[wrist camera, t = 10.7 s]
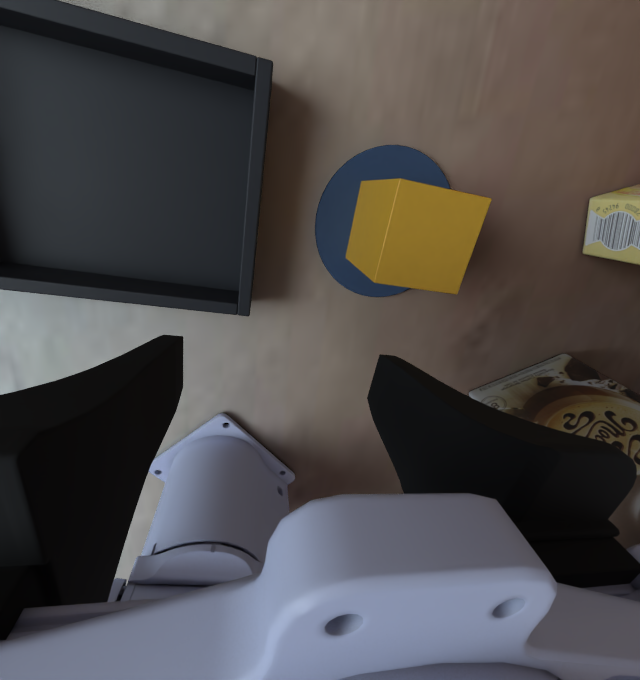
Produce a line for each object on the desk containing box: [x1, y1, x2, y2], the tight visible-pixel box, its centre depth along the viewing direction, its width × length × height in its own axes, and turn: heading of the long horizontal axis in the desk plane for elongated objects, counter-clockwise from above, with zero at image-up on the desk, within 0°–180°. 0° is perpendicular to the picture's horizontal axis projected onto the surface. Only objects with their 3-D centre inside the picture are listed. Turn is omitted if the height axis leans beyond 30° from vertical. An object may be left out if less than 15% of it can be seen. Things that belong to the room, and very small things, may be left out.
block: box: [346, 178, 492, 294], centre depth 17 cm, size 4×4×6 cm
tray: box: [0, 0, 273, 316], centre depth 16 cm, size 15×12×3 cm
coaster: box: [315, 145, 450, 297], centre depth 20 cm, size 9×9×1 cm
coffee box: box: [469, 354, 640, 549], centre depth 21 cm, size 9×6×16 cm
